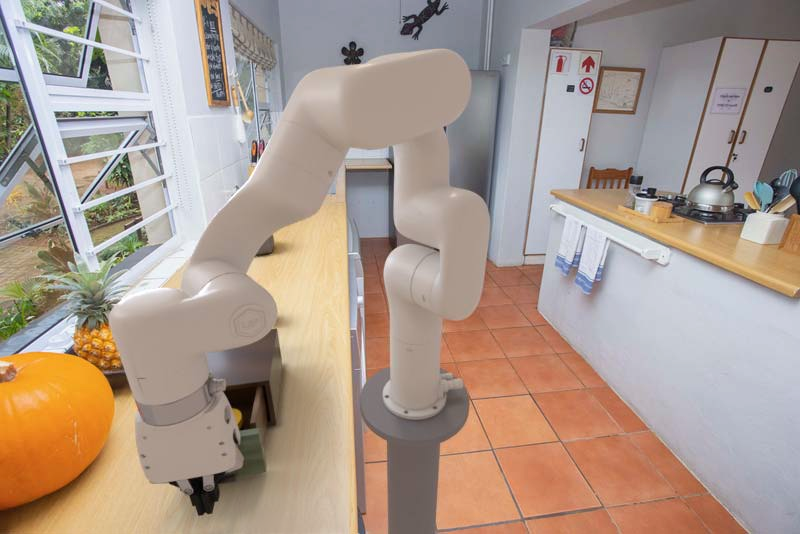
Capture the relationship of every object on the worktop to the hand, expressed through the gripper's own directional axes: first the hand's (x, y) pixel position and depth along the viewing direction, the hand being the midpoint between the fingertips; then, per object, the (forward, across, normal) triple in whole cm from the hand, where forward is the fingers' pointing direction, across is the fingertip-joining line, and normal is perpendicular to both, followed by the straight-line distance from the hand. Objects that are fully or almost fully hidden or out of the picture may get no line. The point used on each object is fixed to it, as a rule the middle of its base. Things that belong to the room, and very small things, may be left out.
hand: (208, 504), depth 51 cm
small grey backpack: (+5, +10, -110) cm, 111 cm away
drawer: (+3, 0, -12) cm, 12 cm away
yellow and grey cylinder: (+2, 0, -13) cm, 13 cm away
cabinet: (+4, 0, -25) cm, 26 cm away
